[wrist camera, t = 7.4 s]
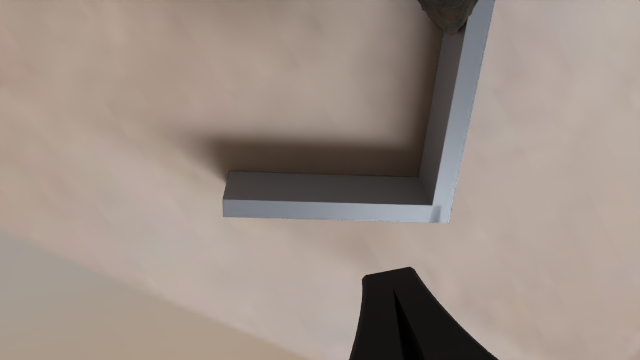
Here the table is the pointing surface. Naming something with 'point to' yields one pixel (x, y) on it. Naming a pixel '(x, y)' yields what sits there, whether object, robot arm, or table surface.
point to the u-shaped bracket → (384, 191)
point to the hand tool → (448, 13)
